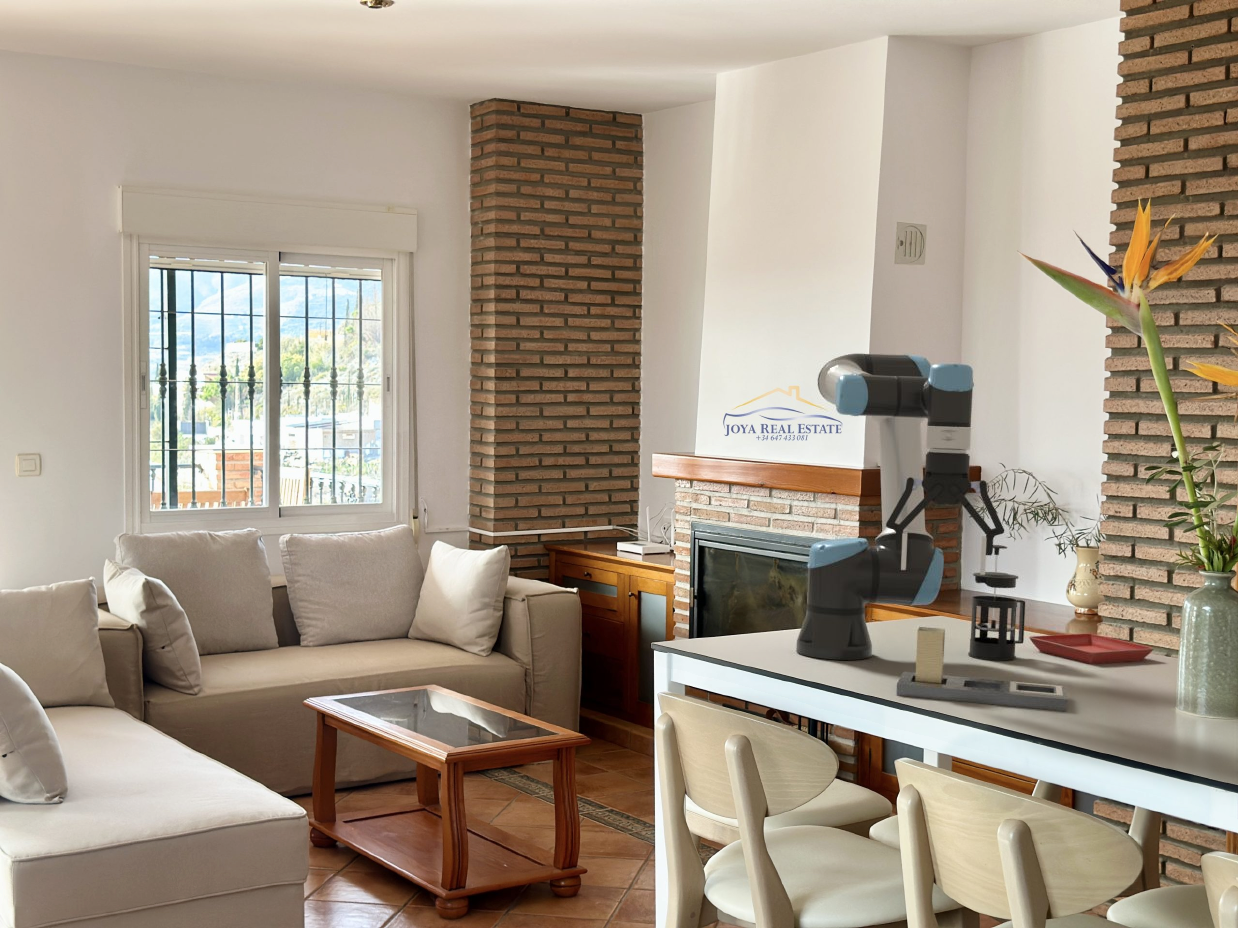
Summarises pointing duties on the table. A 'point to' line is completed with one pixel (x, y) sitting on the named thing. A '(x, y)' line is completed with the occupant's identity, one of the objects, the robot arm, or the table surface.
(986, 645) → the french press
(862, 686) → the table surface
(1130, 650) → the red serving tray
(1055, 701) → the grey flat slotted block
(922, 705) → the table surface
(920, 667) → the peg
